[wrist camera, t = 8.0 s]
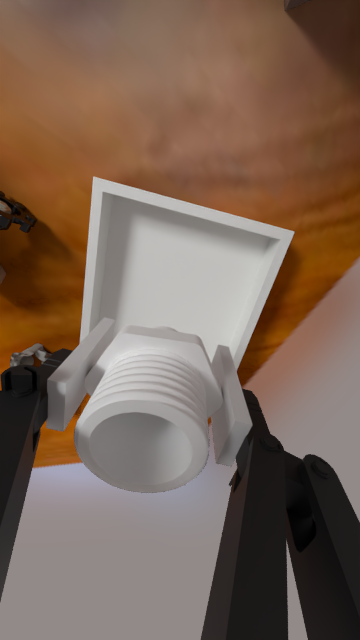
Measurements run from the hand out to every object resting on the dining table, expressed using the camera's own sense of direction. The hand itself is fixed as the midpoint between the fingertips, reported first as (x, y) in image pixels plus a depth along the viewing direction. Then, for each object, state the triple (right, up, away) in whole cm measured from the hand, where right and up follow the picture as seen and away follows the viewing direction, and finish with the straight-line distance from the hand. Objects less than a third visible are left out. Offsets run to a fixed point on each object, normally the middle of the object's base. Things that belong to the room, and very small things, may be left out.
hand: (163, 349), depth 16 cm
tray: (0, +6, +14) cm, 15 cm away
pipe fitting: (0, 0, 0) cm, 0 cm away
